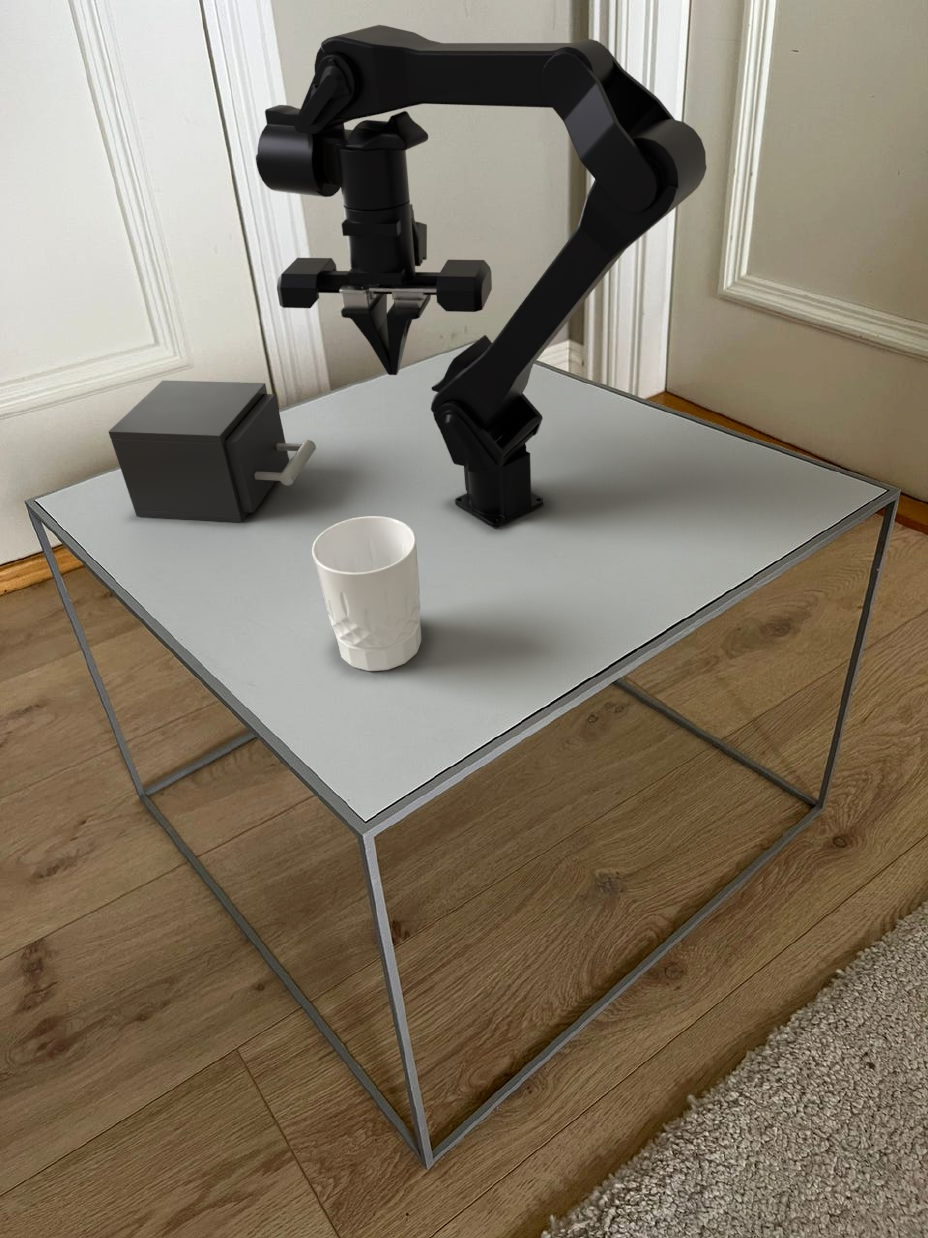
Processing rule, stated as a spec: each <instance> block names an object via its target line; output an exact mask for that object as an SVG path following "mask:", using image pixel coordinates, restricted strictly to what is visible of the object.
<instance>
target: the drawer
mask: <svg viewBox="0 0 928 1238" xmlns="http://www.w3.org/2000/svg"><path fill="white" fill-rule="evenodd" d="M277 399H278V398H277V394H275V393H267V394H265V395H264V396H263V397H262V398H261V399H260V401H259V402H258V403H257V404H256V405H255V407H254V408H253V407H252V408H251V409H250V410H249V412H248V413H247V414H246V415H245V416H244V417H243V419H242V420H241V421H240V422H239V423H238V425H237V426H236V427H235V428H234V429H233V430H232V432H231V433H230V434H229V435H228V436H227V438H226V439H225V444H226V448H227V452H228V456H229V460H230V464H231V468H232V472H233V476H234V480H235V484H236V488H237V492H238V496H239V500H240V504H241V508H242V511H243V512H249V513H254V512H255V511H256V510H257V508H258V507H259V506H260V504H261V502H262V501H263V500H264V498H265V497H266V495H267V494H268V492H269V491H270V489H271V488H272V487H273V485H274V484H275V483H276V481H280V483H281V484H282V485H284V486H291V485H293V483H294V482H295V480H297V477H298V476H299V475H300V473H301V472H302V470H303V468H304V467H305V466H306V464H307V463H308V461H309V460H310V458H311V457H312V455H313V454H314V452H315V451H316V449H317V444H316V443H315V442H314V441H313V440H311V439H306V440H304V441H303V442H302V443H289V442H286V438H285V433H284V428H283V423H282V419H281V418H282V417H281V413H280V409H279V403H278V400H277ZM288 452H295V454H294V455H293V456H292V458H291V459H290V457H289V453H288Z"/></svg>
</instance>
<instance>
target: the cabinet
mask: <svg viewBox="0 0 928 1238" xmlns="http://www.w3.org/2000/svg"><path fill="white" fill-rule="evenodd" d="M267 390H268V389H267V384H266V382H242V381H241V382H239V381H238V382H237V381H203V380H201V381H200V380H199V381H198V380H166V379H165V380H163V379H162V380H161V381H160V382H159V383H158V384H157V385H156V386H155V387H154V388H153V389H152V390H151V391H149V392H148V393H147V394H146V395H145V396H144V397H143V398H142V399H141V400H140V401H139V402H138V403H137V404H136V405H135V406H133V408H132V409H131V410H130V411H128V412H127V413H126V414H125V415H124V416H123V417H122V418H121V419H120V420H119V421H118V422H117V423H115V425H113V426H112V427H111V428H110V429H109V430H108V436H109V439H110V441H111V444H112V446H113V449H114V453H115V456H116V459H117V462H118V465H119V469H120V471H121V473H122V477H123V480H124V483H125V486H126V488H127V493H128V495H129V498H130V501H131V503H132V507H133V510H134V513H135V516H136V517H139V518H141V517H142V518H153V519H154V518H157V519H170V520H171V519H173V520H174V519H175V520H191V521H207V522H223V523H224V522H225V523H239V524H240V523H241V524H242V523H243V521H244V520H245V518H246V517H247V516H248V514H249V513H250V512H243V511H242V508H241V504H240V500H239V496H238V492H237V488H236V484H235V480H234V476H233V472H232V468H231V464H230V460H229V456H228V452H227V448H226V444H225V439H226V438H227V436H228V435H229V434H230V433H231V432H232V430H233V429H234V428H235V427H236V426H237V425H238V423H239V422H240V421H241V420H242V419H243V417H244V416H245V415H246V414H247V413H248V412H249V410H250V409H251V408H252V407H253V408H254V407H255V405H256V404H257V403H258V402H259V401H260V399H261V398H262V397H263V396H264V395H265V394H268V391H267Z"/></svg>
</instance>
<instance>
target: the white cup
mask: <svg viewBox="0 0 928 1238" xmlns="http://www.w3.org/2000/svg"><path fill="white" fill-rule="evenodd" d="M417 546H418V545H417V536H416V533H415V531H414V530H413V529H412V527H410V526H409V524H407V523H405V522H403V521H401V520H398V519H396V518H394V517H388V516H380V515H367V516H358V517H353V518H349V519H346V520H343V521H340V522H338V523H335V524H333V525H331V526H329V527H328V528H326V529H325V530H323V531H322V532H321V533H320V534H319V535H318V536H317V537H316V539H315V540H314V542H313V544H312V546H311V547H312V548H311V555H312V559H313V562H314V566H315V570H316V574H317V578H318V581H319V585H320V590H321V594H322V597H323V601H324V605H325V608H326V612H327V615H328V618H329V621H330V625H331V628H332V630H333V631H334V634H335V638H336V641H337V645H338V649H339V653H340V656H341V659H342V660H344V662H346V663H347V664H349V666H351V667H352V668H354V669H359V670H363V671H367V672H379V671H389V670H392V669H394V668H397V667H399V666H402V665H405V664H406V663H407V662H409V660H411V659H412V658H413V657H414V656H415V655H416V654H418V651H419V648H420V646H421V644H422V629H421V599H420V596H421V595H420V594H421V591H420V578H419V577H420V575H419V562H418V547H417Z"/></svg>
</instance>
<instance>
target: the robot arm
mask: <svg viewBox="0 0 928 1238" xmlns="http://www.w3.org/2000/svg"><path fill="white" fill-rule="evenodd" d="M420 105H446V106H447V105H450V106H452V105H453V106H481V107H483V106H485V107H515V108H516V107H517V108H545V109H546V108H550V109H552V110H553V111H554V112H555V113H556V115H557V116H558V117H559V118H560V119H561V121H562V123H563V124H564V126H565V128H566V131H567V133H568V136H569V137H570V140H571V142H572V145H573V147H574V150H575V152H576V155H577V157H578V159H579V160H580V162H581V163H582V165H583V166H584V167H585V169H586V170H587V171H588V172H589V173H590V175H591V176H592V177H593V179H594V180H593V182H592V185H591V187H590V188H589V191H588V193H587V195H586V197H585V200H584V204H583V208H582V210H581V211H582V212H581V215H580V218H579V222H578V224H577V226H576V229H575V230H574V232H573V233H572V235H570V237H569V238H568V240H567V241H566V243H565V244H564V245H563V246H562V248H561V249H560V251H559V252H558V253H557V255H556V256H555V258H554V259H553V260H552V261H551V263H550V264H549V266H547V268H546V270H545V271H544V272H543V274H541V277H540V278H539V279H538V280H537V282H536V283H535V284H534V286H533V287H532V288H531V290H530V291H529V293H528V294H527V295H526V297H525V298H524V299H523V301H522V302H521V304H519V306H518V307H517V309H516V311H514V313H513V314H512V316H511V317H510V318H509V320H507V323H506V324H505V325H504V326H503V328H502V329H501V330H500V332H499V333H498V335H497V336H496V337H495V339H494V340H493V341H491V340H490V338H489V337H488V336H487V335H486V334H484V335H483V336H482V337H479V339H477V340H476V341H475V342H474V343H472V344H470V345H469V346H468V347H467V348H466V349H464V350H462V352H460V353H459V354H458V355H456V356H455V357H454V358H453V359H452V360H451V362H450V363H449V365H448V367H447V370H446V372H445V374H444V375H443V378H442V379H440V380H439V381H437V382H436V383H435V384H434V385H433V386H431V391H433V392H436V394H434V396H433V398H432V401H431V404H430V411H431V412H432V415H433V419H434V422H435V423H436V426H437V428H438V429H439V431H440V434H441V436H442V439H443V441H444V443H445V446H446V449H447V451H448V453H449V456H450V459H451V461H452V463H453V464H454V465H457V466H462V467H463V474H464V488H465V489H464V490H465V491H466V493H463V494H462V495H460V496H458V497H456V498H455V499H454V505H455V506H457V507H458V508H460V509H462V510H463V511H465V512H466V513H468V514H470V515H471V516H473V517H474V518H476V519H478V520H480V521H481V522H483V523H485V524H486V525H488V526H490V527H491V528H499V527H501V526H504V525H505V524H508V523H509V522H512V521H513V520H515V519H517V518H519V517H521V516H524V515H526V514H528V513H529V512H531V511H534V510H535V509H538V508H540V507H541V506H544V504H545V502H544V501H545V500H544V498H543V497H541V496H539V495H538V494H536V493H534V492H532V472H531V471H532V469H531V452H529V451H527V442H528V441H529V440H530V439H532V438H533V437H535V436H537V434H538V433H539V430H540V428H541V425H542V422H543V415H542V413H541V412H540V410H538V409H537V407H536V406H534V404H533V403H532V402H531V401H530V400H529V399H528V397H527V396H526V395H525V394H524V392H525V390H526V387H527V386H528V383H529V379H530V376H531V371H532V368H533V366H534V364H535V363H536V361H537V360H538V359H539V358H540V356H541V355H542V354H543V353H544V351H545V350H546V349H547V348H548V347H549V345H550V344H551V343H552V342H553V341H554V340H555V338H556V337H557V336H558V335H559V333H560V332H561V331H562V329H563V328H564V327H565V326H566V324H567V323H568V322H569V321H570V319H571V318H572V317H573V316H574V314H576V312H577V310H579V308H580V307H581V306H582V305H583V303H584V302H585V301H586V300H587V298H588V297H589V296H590V295H591V293H592V292H593V291H594V290H595V288H596V287H597V286H598V285H599V283H601V281H602V280H603V279H604V278H605V276H607V273H608V272H610V270H611V269H612V268H613V266H614V265H615V264H616V262H617V261H618V260H619V259H620V258H621V256H622V255H623V254H624V252H626V250H627V249H628V248H630V247H631V246H632V245H633V244H634V243H636V241H638V240H639V239H640V238H641V237H643V235H645V234H646V233H647V232H648V231H650V230H651V229H652V228H653V227H654V226H656V225H657V224H658V223H660V222H661V221H662V220H663V219H664V218H665V217H666V216H667V215H668V214H670V213H671V212H672V211H673V210H674V209H675V208H677V207H678V206H679V205H680V204H681V203H683V202H684V201H685V200H686V199H687V198H688V197H689V196H691V195H692V194H694V192H695V191H696V190H697V189H698V188H699V187H700V185H701V183H702V181H703V179H704V178H705V175H706V171H707V168H708V167H707V160H706V159H707V157H706V150H705V146H704V143H703V140H702V138H701V137H700V136H699V134H698V133H697V131H696V129H694V128H693V127H692V126H690V125H689V124H687V123H686V122H685V121H682V120H678V119H675V117H674V116H673V115H672V113H671V112H670V111H669V110H668V108H667V107H666V106H665V105H664V104H663V102H662V101H661V99H660V98H658V96H657V95H656V94H654V93H653V92H652V91H650V90H649V89H648V88H647V87H646V86H645V85H643V84H642V83H641V82H640V81H638V80H637V79H636V78H635V77H634V76H633V75H631V74H630V73H629V72H627V71H626V70H625V69H624V67H623V66H622V65H621V64H620V63H619V62H618V60H617V59H616V57H615V56H614V55H613V54H612V53H611V51H610V50H609V49H608V48H607V47H606V46H605V45H604V44H603V43H601V42H600V41H599V40H597V39H596V40H595V39H591V38H584V39H581V40H578V41H574V42H440V41H435V40H431V39H428V38H426V37H425V36H422V35H420V34H418V33H417V32H414V31H410V30H406V29H401V28H396V27H393V26H388V25H384V24H383V25H382V24H376V25H372V26H369V27H365V28H361V29H357V30H352V31H350V32H345V33H341V34H337V35H334V36H330V37H327V38H326V39H324V40H323V41H321V43H320V47H319V49H318V51H317V53H316V55H315V60H314V75H313V77H312V80H311V83H310V85H309V87H308V90H307V92H306V94H305V97H304V99H303V101H302V104H301V107H300V108H299V107H295V106H293V105H288V104H277V105H275V106H272V107H269V108H266V109H265V110H264V116H265V123H266V125H265V126H264V128H263V129H262V131H261V133H260V136H259V139H258V143H257V154H256V155H255V162H256V163H255V164H256V168H257V171H258V174H259V176H260V177H259V178H260V180H261V181H262V182H263V184H264V185H265V187H267V188H268V189H269V190H270V191H273V192H277V193H286V194H297V195H303V196H305V195H306V196H313V197H314V196H315V197H323V198H330V197H331V198H332V197H333V196H335V195H336V194H337V193H339V191H341V198H342V199H341V200H342V206H343V215H344V220H343V221H342V222H341V230H342V236H343V237H346V238H347V239H346V240H347V248H348V255H349V263H350V269H349V270H338V269H337V264H336V262H335V261H334V259H333V258H332V257H296V258H295V259H294V261H292V262H291V263H290V265H289V266H287V268H285V270H284V271H283V272H282V273H281V274H280V275H279V277H278V278H277V282H276V292H277V299H278V303H279V306H280V307H282V308H283V309H311V308H312V307H314V305H315V304H316V303H317V301H318V300H319V299H320V294H341V297H342V298H341V299H342V305H343V307H342V308H341V309H340V315H341V317H342V318H344V319H350V320H352V322H353V323H354V325H355V326H356V328H358V330H359V331H360V332H361V334H362V335H363V336H364V338H365V339H366V340H367V342H368V343H369V345H370V346H371V348H372V350H373V351H374V353H375V355H376V357H377V358H378V360H379V362H380V363H381V365H382V367H383V368H384V370H385V371H386V373H387V375H388V376H398V374H399V372H400V370H401V369H400V368H401V364H402V361H403V355H404V352H405V348H406V342H407V339H408V335H409V331H410V328H411V324H412V323H413V320H418V319H420V318H421V316H422V315H423V313H424V312H425V310H426V308H427V306H428V304H429V303H430V301H431V298H432V296H436V303H437V304H438V306H440V307H441V308H442V309H443V310H444V311H445V312H452V313H453V312H455V313H456V312H457V313H461V312H462V313H477V312H481V311H483V310H484V308H485V305H486V303H487V300H488V299H489V296H490V295H491V292H492V290H493V279H492V269H491V267H490V265H489V264H488V262H487V261H486V260H485V259H446V262H445V263H444V265H443V266H442V268H441V270H440V271H439V272H438V271H436V272H435V271H434V272H433V271H416V267H421V266H422V264H423V263H424V261H427V259H428V224H426V223H423V222H421V221H416V219H415V211H414V209H413V207H414V206H413V203H411V199H410V187H409V175H408V173H409V172H408V163H407V162H408V161H407V150H410V149H412V148H415V147H417V146H419V145H421V144H424V143H426V142H427V141H428V140H429V134H428V132H427V131H426V130H424V128H423V127H422V126H421V125H420V124H418V123H417V122H415V121H414V120H413V118H412V117H411V115H410V113H409V112H408V111H406V110H403V111H401V112H398V113H395V114H392V115H391V116H390V117H389V119H388V120H374V119H373V120H372V119H365V120H362V121H360V122H358V123H357V124H356V125H355V126H354V128H353V129H346V127H345V123H349V122H351V121H354V120H358V119H363V118H368V117H372V116H377V115H382V114H387V113H390V112H395V111H399V110H402V109H406V108H411V107H415V106H420ZM388 295H391V298H392V300H393V304H391V307H390V308H389V310H388Z"/></svg>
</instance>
